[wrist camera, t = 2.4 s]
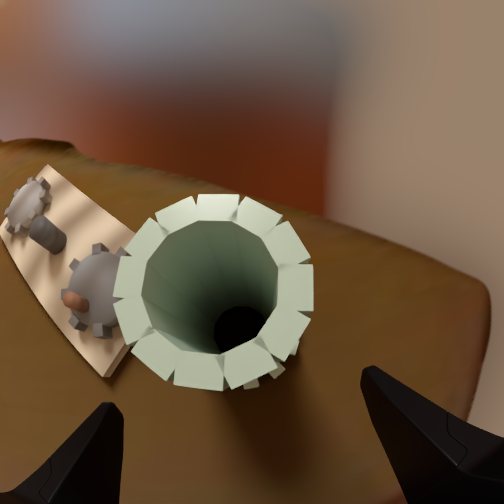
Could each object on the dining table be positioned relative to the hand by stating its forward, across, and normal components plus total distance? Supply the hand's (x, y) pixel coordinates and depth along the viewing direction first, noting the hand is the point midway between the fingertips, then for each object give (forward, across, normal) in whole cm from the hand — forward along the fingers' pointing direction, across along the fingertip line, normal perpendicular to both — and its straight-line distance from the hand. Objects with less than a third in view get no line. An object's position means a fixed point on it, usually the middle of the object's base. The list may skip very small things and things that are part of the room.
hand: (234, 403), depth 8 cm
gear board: (+18, +17, -2) cm, 24 cm away
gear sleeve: (+10, 0, +5) cm, 12 cm away
